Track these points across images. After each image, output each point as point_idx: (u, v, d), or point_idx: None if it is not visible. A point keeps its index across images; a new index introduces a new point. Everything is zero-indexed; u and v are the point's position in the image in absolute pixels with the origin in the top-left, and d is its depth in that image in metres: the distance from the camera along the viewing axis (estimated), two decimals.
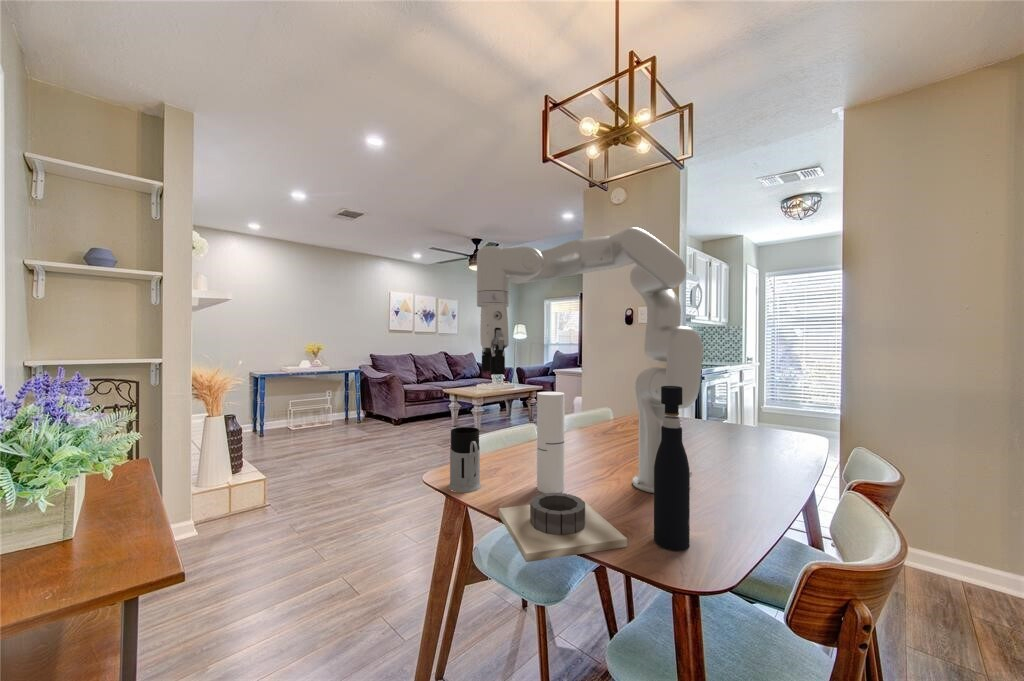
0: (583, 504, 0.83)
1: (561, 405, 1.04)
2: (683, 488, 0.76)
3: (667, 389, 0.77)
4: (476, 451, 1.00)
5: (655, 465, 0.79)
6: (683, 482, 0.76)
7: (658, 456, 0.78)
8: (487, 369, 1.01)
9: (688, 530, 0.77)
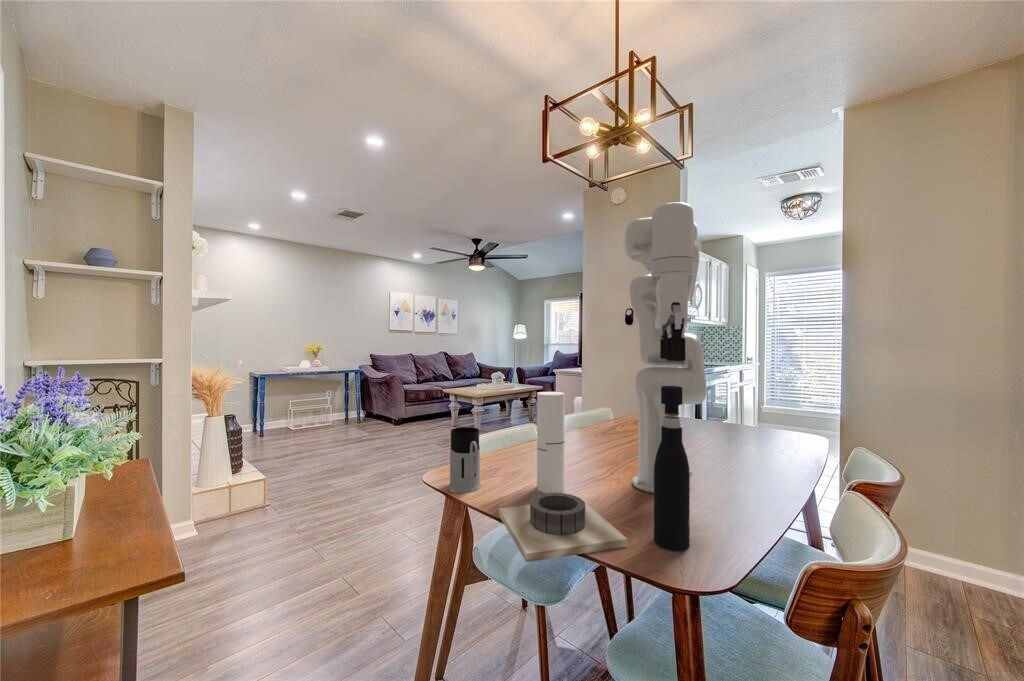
0: (583, 504, 0.83)
1: (561, 405, 1.04)
2: (683, 488, 0.76)
3: (667, 389, 0.77)
4: (476, 451, 1.00)
5: (655, 465, 0.79)
6: (683, 482, 0.76)
7: (658, 456, 0.78)
8: None
9: (688, 530, 0.77)
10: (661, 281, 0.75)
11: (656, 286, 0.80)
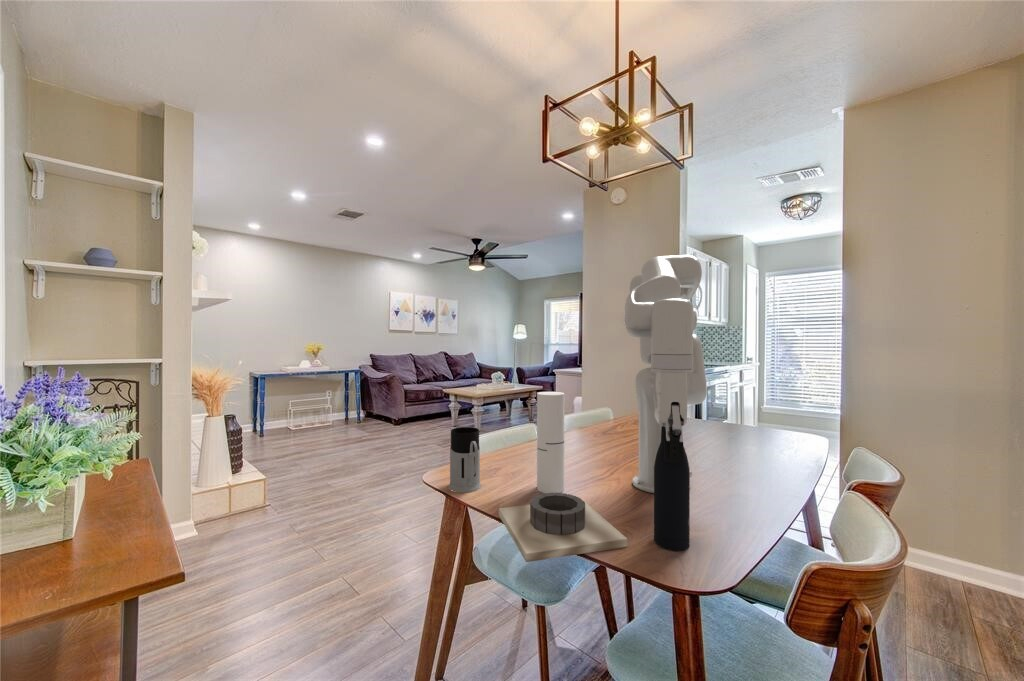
0: (583, 504, 0.83)
1: (561, 405, 1.04)
2: (683, 488, 0.76)
3: None
4: (476, 451, 1.00)
5: (655, 465, 0.79)
6: (683, 482, 0.76)
7: (658, 456, 0.78)
8: None
9: (688, 530, 0.77)
10: (661, 379, 0.75)
11: (656, 378, 0.80)
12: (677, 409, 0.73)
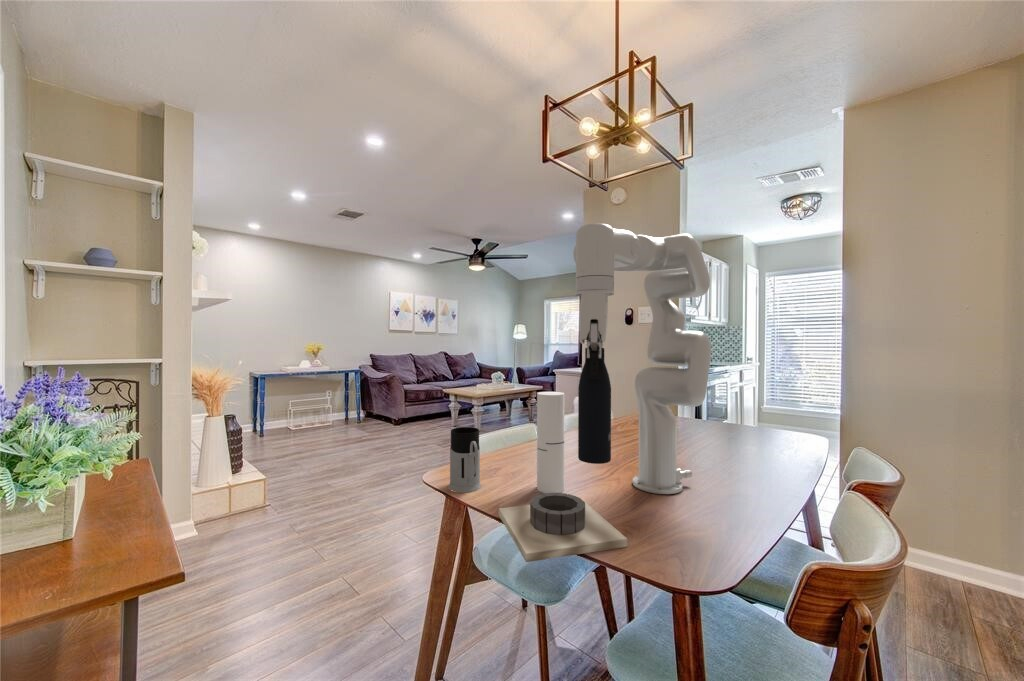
0: (583, 504, 0.83)
1: (561, 405, 1.04)
2: (603, 404, 0.79)
3: None
4: (476, 451, 1.00)
5: (579, 385, 0.82)
6: (603, 397, 0.79)
7: (581, 375, 0.81)
8: None
9: (609, 445, 0.80)
10: (582, 298, 0.79)
11: None
12: (595, 326, 0.77)
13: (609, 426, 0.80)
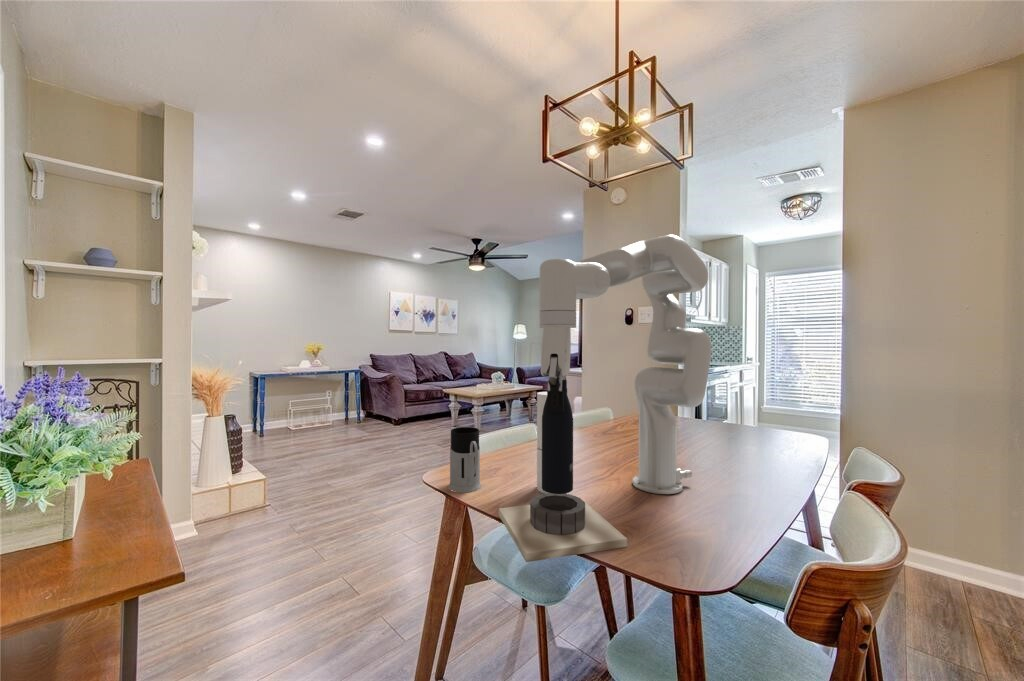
0: (583, 504, 0.83)
1: None
2: (564, 435, 0.81)
3: None
4: (476, 451, 1.00)
5: (542, 415, 0.84)
6: (564, 429, 0.81)
7: (544, 407, 0.83)
8: None
9: (570, 475, 0.82)
10: (543, 333, 0.81)
11: None
12: (555, 360, 0.79)
13: (570, 457, 0.82)
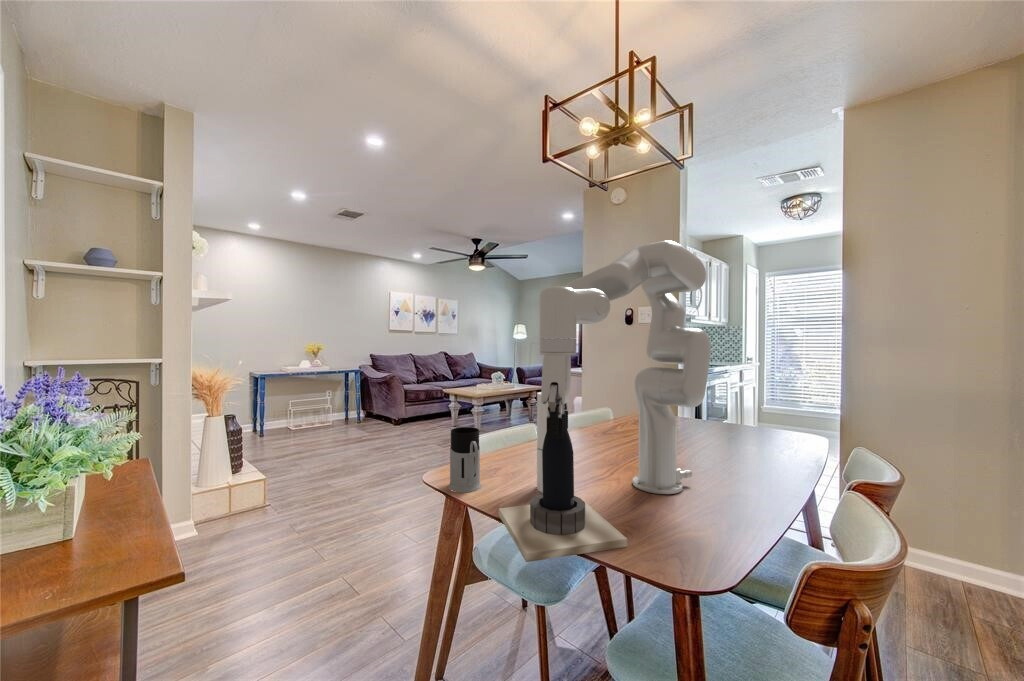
0: (583, 504, 0.83)
1: None
2: (565, 470, 0.81)
3: None
4: (476, 451, 1.00)
5: (542, 449, 0.84)
6: (564, 464, 0.81)
7: (544, 441, 0.84)
8: None
9: None
10: (543, 361, 0.81)
11: None
12: None
13: (571, 491, 0.82)
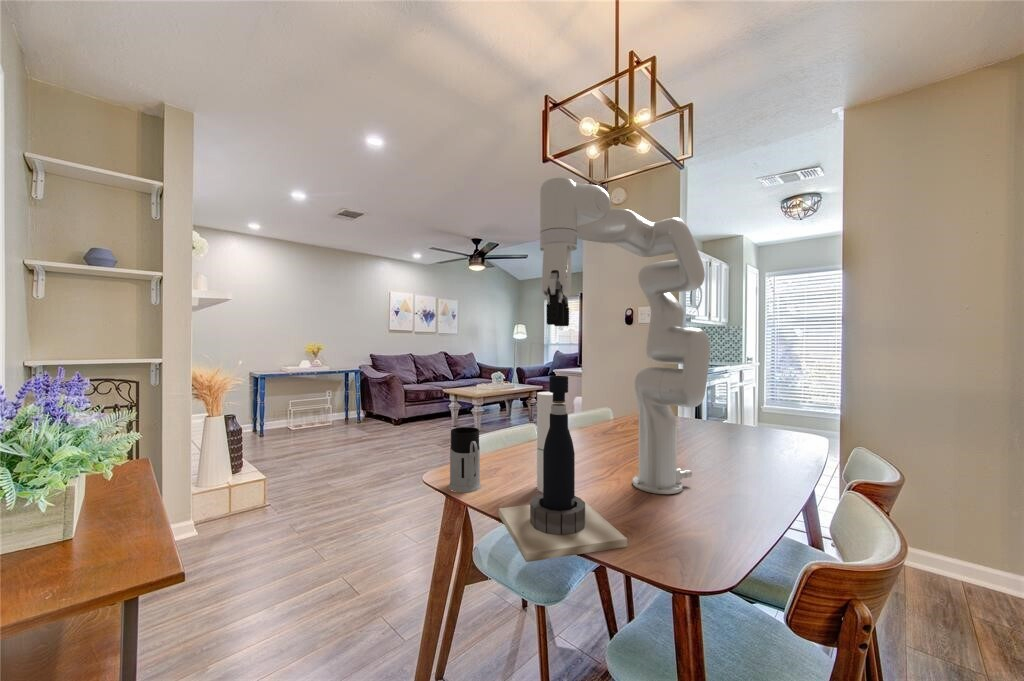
0: (583, 504, 0.83)
1: None
2: (566, 471, 0.81)
3: (553, 378, 0.83)
4: (476, 451, 1.00)
5: None
6: (565, 464, 0.81)
7: (545, 441, 0.84)
8: None
9: None
10: None
11: None
12: None
13: (572, 491, 0.82)
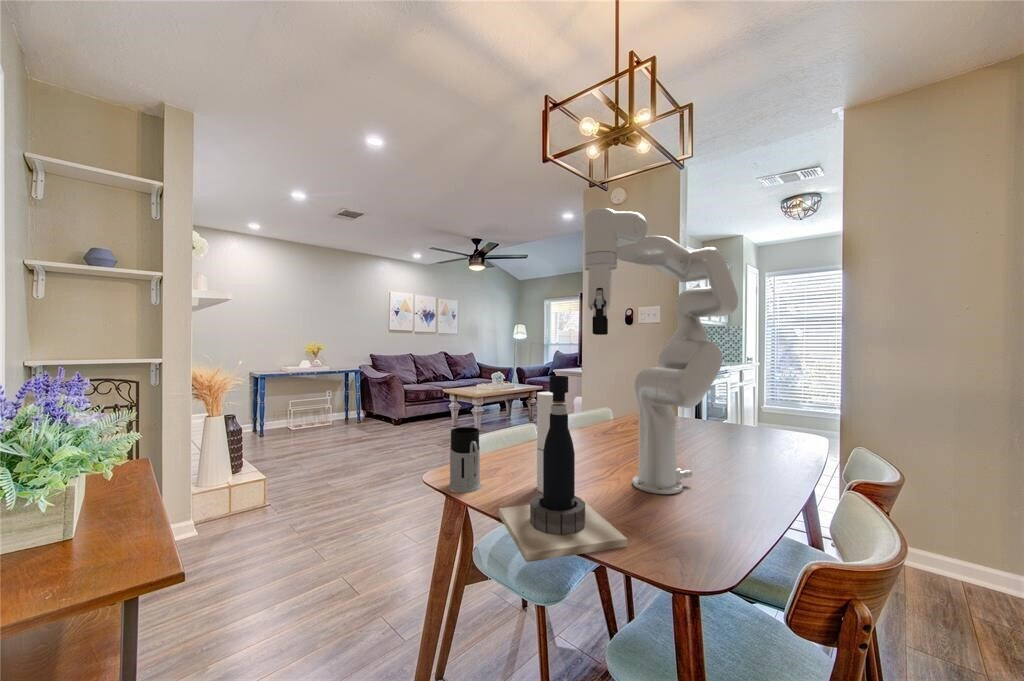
0: (583, 504, 0.83)
1: None
2: (566, 471, 0.81)
3: (553, 378, 0.83)
4: (476, 451, 1.00)
5: None
6: (565, 465, 0.81)
7: (545, 441, 0.83)
8: None
9: None
10: (589, 271, 0.94)
11: None
12: None
13: (572, 491, 0.82)
